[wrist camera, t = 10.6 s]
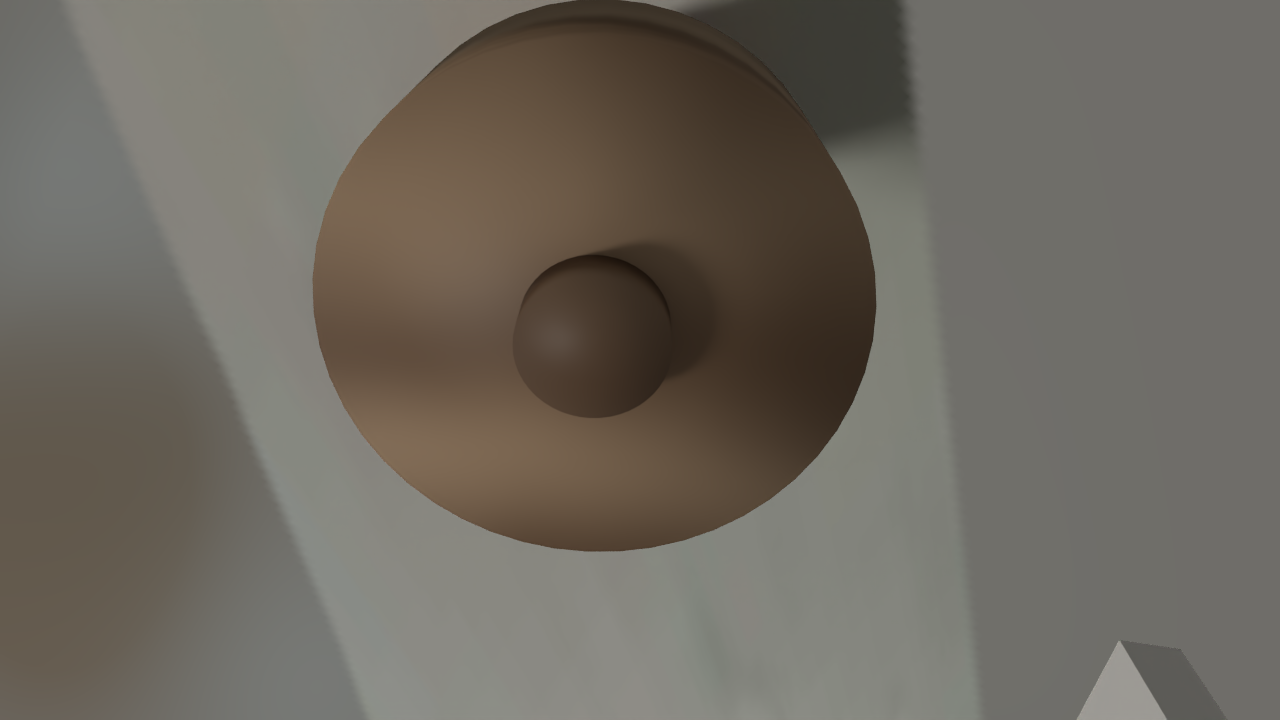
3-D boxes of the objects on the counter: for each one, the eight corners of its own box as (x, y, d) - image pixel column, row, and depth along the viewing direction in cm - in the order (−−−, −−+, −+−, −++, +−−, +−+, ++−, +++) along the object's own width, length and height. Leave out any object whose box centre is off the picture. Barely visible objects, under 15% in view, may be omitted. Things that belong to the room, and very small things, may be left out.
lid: (392, -47, 21) (305, -14, 16) (890, 51, 22) (969, 113, 17) (362, 398, 26) (289, 538, 21) (770, 464, 27) (802, 614, 21)
